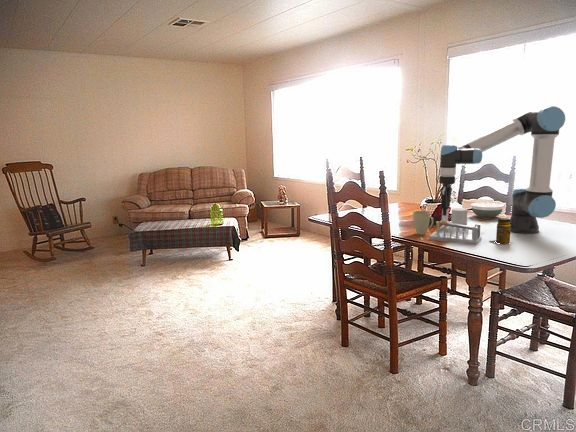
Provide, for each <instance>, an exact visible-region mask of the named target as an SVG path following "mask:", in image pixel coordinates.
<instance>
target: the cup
mask: <svg viewBox="0 0 576 432" xmlns="http://www.w3.org/2000/svg"><path fill="white" fill-rule="evenodd" d="M450 219H451V220H450V223H455V224H462V225H468V208H463V207H454V208H451V218H450ZM452 228H454V227H450V230H451V229H452ZM458 229H459V228H457V227H456V231H457V230H458ZM464 230H465V229H463V228H462V233H463V231H464Z"/></svg>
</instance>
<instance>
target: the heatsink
mask: <svg viewBox="0 0 576 432" xmlns="http://www.w3.org/2000/svg"><path fill="white" fill-rule="evenodd" d="M439 222H440V221H435V225H436V228H435V229H436V230H435V231H433V233H431V234H429V235H428V240H431V241H437V242H438V241H439V242H447V243H458V244H468V245H478V244H479V243H480V241H481V240H482V238H483V236H482V234H481V224H476V223H475V224H474V227H472V230H471V232H472V233H469V229H465V230H464V231H463V232H462V228H459V229H458V230H457V231H456V227H454V228H452V229H451V226H447V227H446V226H445V225H439ZM475 226H479V227H480V229H479V230H478V227H475ZM445 227H446V228H445Z"/></svg>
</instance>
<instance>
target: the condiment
mask: <svg viewBox="0 0 576 432" xmlns="http://www.w3.org/2000/svg"><path fill="white" fill-rule="evenodd" d="M510 230H511V225H510V218H507V217H500V218H498V219H497V224H496V234H495V236H496V237H495V238H496V239H495V240H488V242H490V243H492V244H494V245H498V246H502V245H512V243H513V242H510V241H511V231H510ZM495 241H496V242H497V243H500V244H497V243H496V242H495ZM494 242H495V243H494ZM509 243H511V244H509Z"/></svg>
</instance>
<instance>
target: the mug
mask: <svg viewBox="0 0 576 432" xmlns="http://www.w3.org/2000/svg"><path fill="white" fill-rule="evenodd" d="M412 215H413V225H414V230H415V233H416V234H417V235H426V234H427V232H428V230H429V229H430V228H432V226H433V225H434V222H435V221H434V220H435V219H434V217H432V216H431V211H429V210H428V211H427V210H414V211H413V212H412ZM430 220H431V221H430ZM430 223H431V224H430ZM429 225H430V226H429Z"/></svg>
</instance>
